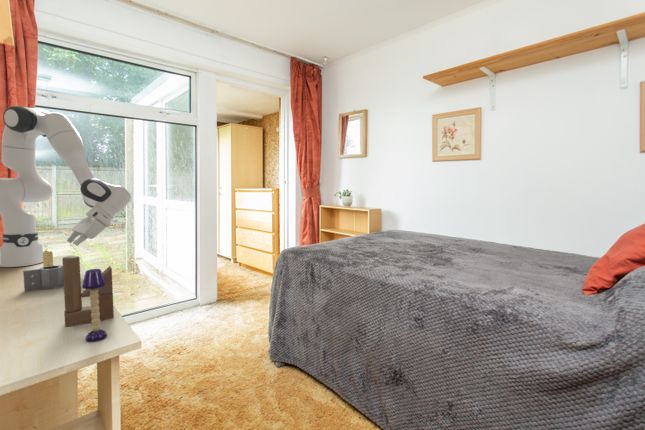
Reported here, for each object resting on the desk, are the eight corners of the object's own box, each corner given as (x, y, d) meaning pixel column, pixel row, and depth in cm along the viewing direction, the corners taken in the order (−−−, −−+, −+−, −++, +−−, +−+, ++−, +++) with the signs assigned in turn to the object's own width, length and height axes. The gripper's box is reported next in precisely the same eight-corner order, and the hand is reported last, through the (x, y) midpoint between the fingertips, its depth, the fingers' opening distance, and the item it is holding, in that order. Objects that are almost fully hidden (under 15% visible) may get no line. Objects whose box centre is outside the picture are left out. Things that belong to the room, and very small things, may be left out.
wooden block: (114, 318, 93) (111, 254, 91) (65, 327, 86) (61, 259, 85) (112, 314, 96) (109, 252, 94) (64, 323, 89) (61, 256, 88)
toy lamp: (80, 339, 80) (76, 270, 78) (100, 331, 84) (97, 266, 83) (93, 343, 78) (89, 273, 76) (112, 335, 82) (109, 268, 81)
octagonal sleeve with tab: (23, 289, 117) (21, 269, 116) (75, 280, 128) (74, 262, 127) (26, 293, 113) (25, 272, 112) (79, 283, 124) (78, 265, 123)
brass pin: (43, 277, 131) (41, 250, 130) (53, 276, 133) (51, 249, 132) (45, 279, 129) (43, 251, 128) (54, 277, 132) (53, 250, 131)
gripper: (84, 211, 148) (58, 235, 141) (99, 214, 134) (71, 241, 128) (96, 220, 151) (71, 244, 145) (112, 224, 138) (85, 251, 132)
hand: (71, 243), depth 136 cm, fingers open, 8 cm apart
